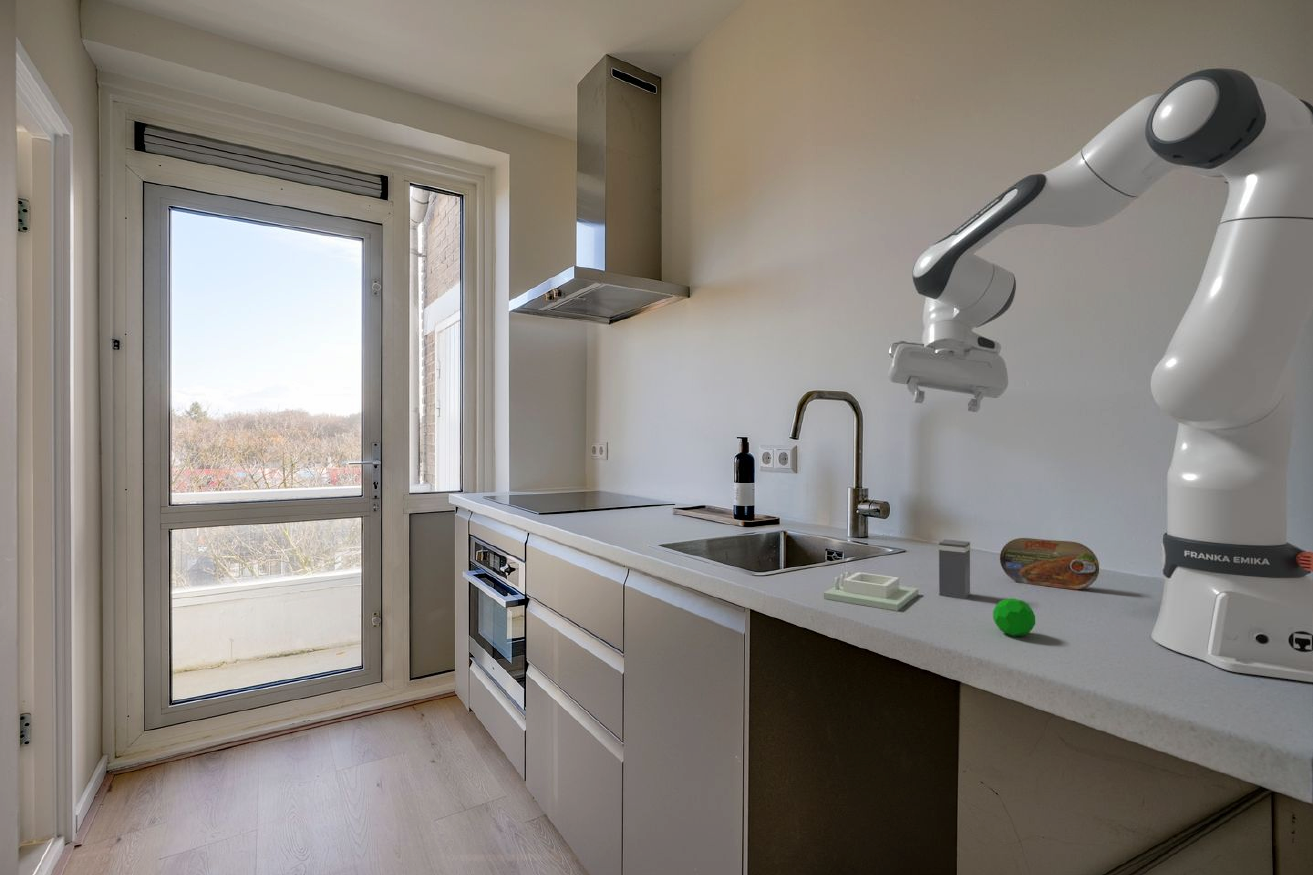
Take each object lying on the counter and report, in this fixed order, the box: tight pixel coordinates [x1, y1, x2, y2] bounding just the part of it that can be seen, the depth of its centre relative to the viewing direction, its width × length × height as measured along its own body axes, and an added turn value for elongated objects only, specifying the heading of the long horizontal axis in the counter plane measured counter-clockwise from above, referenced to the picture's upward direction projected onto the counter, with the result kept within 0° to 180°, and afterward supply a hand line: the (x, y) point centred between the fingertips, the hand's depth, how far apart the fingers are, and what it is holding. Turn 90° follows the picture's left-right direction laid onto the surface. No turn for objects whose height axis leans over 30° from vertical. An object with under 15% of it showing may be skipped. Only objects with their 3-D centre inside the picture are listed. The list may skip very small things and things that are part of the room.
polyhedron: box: [992, 598, 1036, 637], centre depth 83 cm, size 5×5×5 cm
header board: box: [823, 571, 919, 612], centre depth 103 cm, size 12×12×3 cm
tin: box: [999, 537, 1100, 591], centre depth 109 cm, size 15×3×8 cm, turn 51°
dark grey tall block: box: [938, 539, 971, 600], centre depth 103 cm, size 4×4×9 cm
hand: (946, 405), depth 109 cm, fingers open, 8 cm apart
